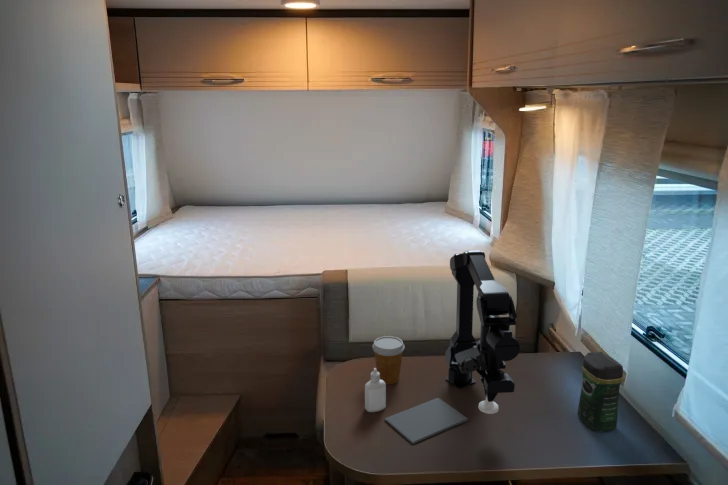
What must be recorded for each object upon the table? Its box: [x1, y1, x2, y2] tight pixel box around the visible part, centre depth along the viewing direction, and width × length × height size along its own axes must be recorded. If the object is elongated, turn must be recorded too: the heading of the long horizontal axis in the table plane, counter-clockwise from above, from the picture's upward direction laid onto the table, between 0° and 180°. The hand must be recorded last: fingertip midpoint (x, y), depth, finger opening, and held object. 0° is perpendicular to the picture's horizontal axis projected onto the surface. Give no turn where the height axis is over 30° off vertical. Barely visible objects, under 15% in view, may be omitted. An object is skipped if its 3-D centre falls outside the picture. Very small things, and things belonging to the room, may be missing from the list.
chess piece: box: [478, 388, 499, 415], centre depth 133 cm, size 5×5×10 cm
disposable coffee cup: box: [371, 335, 405, 385], centre depth 161 cm, size 10×10×12 cm
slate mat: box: [384, 397, 468, 445], centre depth 142 cm, size 18×12×1 cm, turn 122°
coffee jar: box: [576, 351, 624, 433], centre depth 138 cm, size 10×8×19 cm
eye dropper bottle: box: [364, 367, 387, 413], centre depth 146 cm, size 4×6×12 cm
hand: (488, 399), depth 133 cm, fingers closed on chess piece
